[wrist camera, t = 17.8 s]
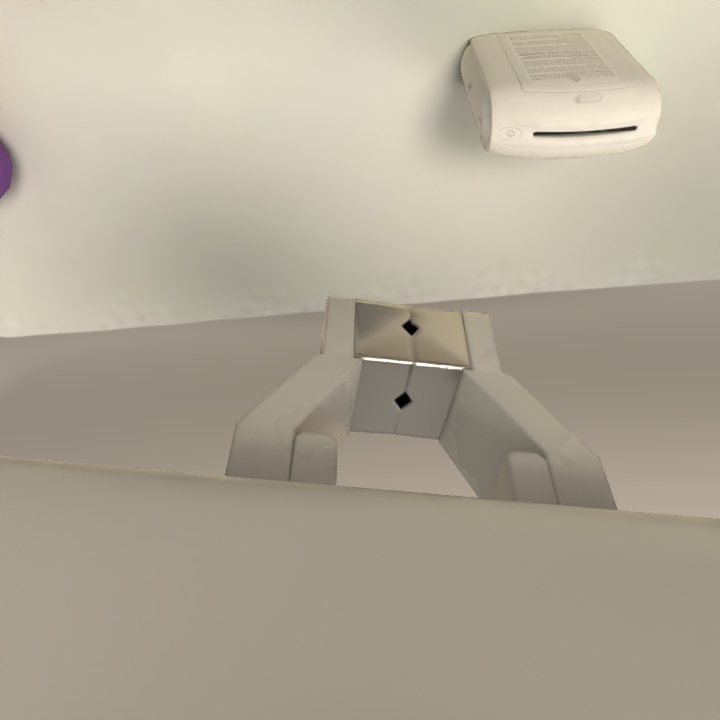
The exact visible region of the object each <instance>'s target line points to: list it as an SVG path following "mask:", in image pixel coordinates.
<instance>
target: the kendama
mask: <svg viewBox="0 0 720 720" xmlns="http://www.w3.org/2000/svg"><path fill="white" fill-rule="evenodd" d="M11 176H12V164H11V161H10V157H9V154H8V151H7V150H6V148H5V147H4V146H3V145H2V143H1V142H0V198H1V197H2V196H3V195H4V194H5V192H6V191H7V190H8V189H9V187H10V182H11Z"/></svg>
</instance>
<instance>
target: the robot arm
mask: <svg viewBox="0 0 720 720" xmlns="http://www.w3.org/2000/svg"><path fill="white" fill-rule="evenodd" d="M350 431H354V432H370V433H383V434H384V433H385V434H396V435H405V436H414V437H421V438H429V439H438V440H439V443H440V444H441V445H442V447H443V448H444V449H445V451H446V452H447V454H448V455H449V457H450V458H451V459H452V461H453V462H454V464H455V465H456V466H457V468H458V469H459V470H460V472H461V473H462V475H463V476H464V478H465V479H466V480H467V482H468V483H469V485H470V486H471V487H472V489H473V490H474V492H475V493H476V495H477V496H478V497H479V498H473V497H462V496H450V495H439V494H438V495H437V494H427V493H416V492H404V491H392V490H379V489H368V488H358V487H345V486H336V476H337V448H338V447H339V446H340V445H341V443H342V442H343V441H344V439H345V438H346V437H347V436H348V434H349V432H350ZM0 720H720V519H714V518H702V517H690V516H678V515H666V514H652V513H642V512H630V511H620V510H617V507H616V504H615V501H614V498H613V495H612V492H611V489H610V486H609V483H608V480H607V478H606V474H605V471H604V469H603V465H602V463H601V460H600V458H599V456H597V455H596V454H595V453H594V452H593V451H592V450H591V449H590V448H589V447H588V446H587V445H586V444H584V443H583V442H582V441H581V440H580V439H579V438H578V437H577V436H576V435H575V434H574V433H573V432H572V431H570V430H569V429H568V428H567V427H566V426H565V425H564V424H563V423H562V422H561V421H560V420H559V419H558V418H556V417H555V416H554V415H553V414H552V413H551V412H550V411H549V410H548V409H547V408H546V407H545V406H544V405H542V404H541V403H540V402H539V401H538V400H537V399H536V398H535V397H534V396H533V395H532V394H531V393H529V392H528V391H527V390H526V389H525V388H524V387H523V386H522V385H521V384H520V383H519V382H518V381H517V380H515V379H514V378H513V377H512V376H511V375H510V374H505V373H502V371H501V366H500V362H499V358H498V353H497V349H496V345H495V341H494V336H493V332H492V328H491V323H490V319H489V316H488V315H487V314H485V313H474V312H462V311H460V312H453V311H444V310H435V309H425V308H416V307H408V306H403V305H395V304H388V303H380V302H373V301H366V300H358V299H355V301H354V299H349V298H341V297H333V296H328V297H327V301H326V309H325V317H324V325H323V332H322V340H321V348H320V354H314V355H313V356H312V357H310V358H309V359H308V360H307V361H306V362H305V363H304V364H302V365H301V366H300V367H299V368H298V369H297V370H296V371H294V372H293V373H292V374H291V375H290V376H289V377H288V378H286V379H285V380H284V381H283V382H282V383H281V384H280V385H278V386H277V387H276V388H275V389H274V390H273V391H272V392H270V393H269V394H268V395H267V396H266V397H265V398H264V399H263V400H261V401H260V402H259V403H258V404H257V405H256V406H254V407H253V408H252V409H251V410H250V411H249V412H248V413H246V414H245V415H244V416H243V417H242V418H241V419H240V420H239V421H237V422H236V426H235V430H234V435H233V440H232V445H231V450H230V454H229V459H228V464H227V468H226V473H225V476H220V475H208V474H197V473H185V472H174V471H163V470H151V469H140V468H128V467H116V466H105V465H94V464H82V463H71V462H59V461H48V460H35V459H25V458H14V457H3V456H0Z"/></svg>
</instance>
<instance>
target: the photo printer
mask: <svg viewBox="0 0 720 720" xmlns="http://www.w3.org/2000/svg"><path fill="white" fill-rule="evenodd" d="M461 74H462V78H463V81H464V84H465V88H466V91H467V95H468V98H469V102H470V105H471V108H472V111H473V115H474V118H475V121H476V124H477V128H478V131H479V134H480V137H481V140H482V143H483V146H484V149H485V150H486V151H487V152H490V153H494V154H498V155H503V156H509V157H519V158H577V157H591V156H600V155H608V154H614V153H620V152H625V151H629V150H632V149H635V148H638V147H641V146H644V145H646V144H648V143H649V142H651V140H652V139H653V138H654V136H655V135H656V127H657V123H658V121H659V119H660V117H661V113H662V103H661V94H660V89H659V86H658V83H657V82H656V80H655V79H654V78H653V77H652V76H651V75H650V74H649V73H648V72H647V71H646V70H645V69H644V68H643V67H642V65H641V64H640V63H639V62H638V61H637V60H636V59H635V58H634V57H633V56H632V55H631V54H630V53H629V52H628V51H627V50H626V49H625V47H624V46H623V45H622V44H621V43H620V42H619V41H618V40H617V39H616V37H614V35H612V34H611V33H609V32H605V31H600V30H591V29H569V30H542V31H522V32H506V33H495V34H487V35H482V36H477V37H474V38H472V39H471V40H470V44H469V45H468V47H467V48H466V50H465V52H464V54H463V57H462V60H461Z"/></svg>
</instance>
